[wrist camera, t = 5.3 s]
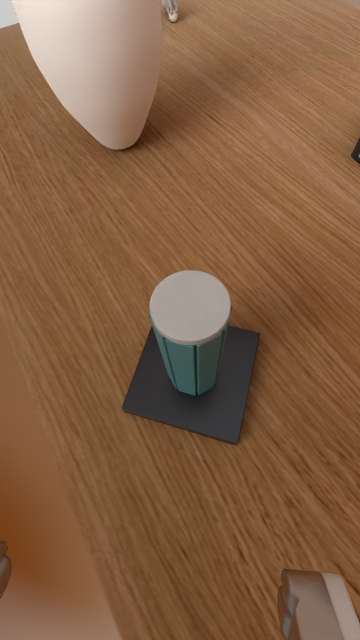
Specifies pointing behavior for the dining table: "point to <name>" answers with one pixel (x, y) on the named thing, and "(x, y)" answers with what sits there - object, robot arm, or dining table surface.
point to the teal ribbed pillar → (191, 328)
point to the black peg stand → (196, 410)
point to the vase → (98, 60)
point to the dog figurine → (170, 3)
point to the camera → (356, 152)
